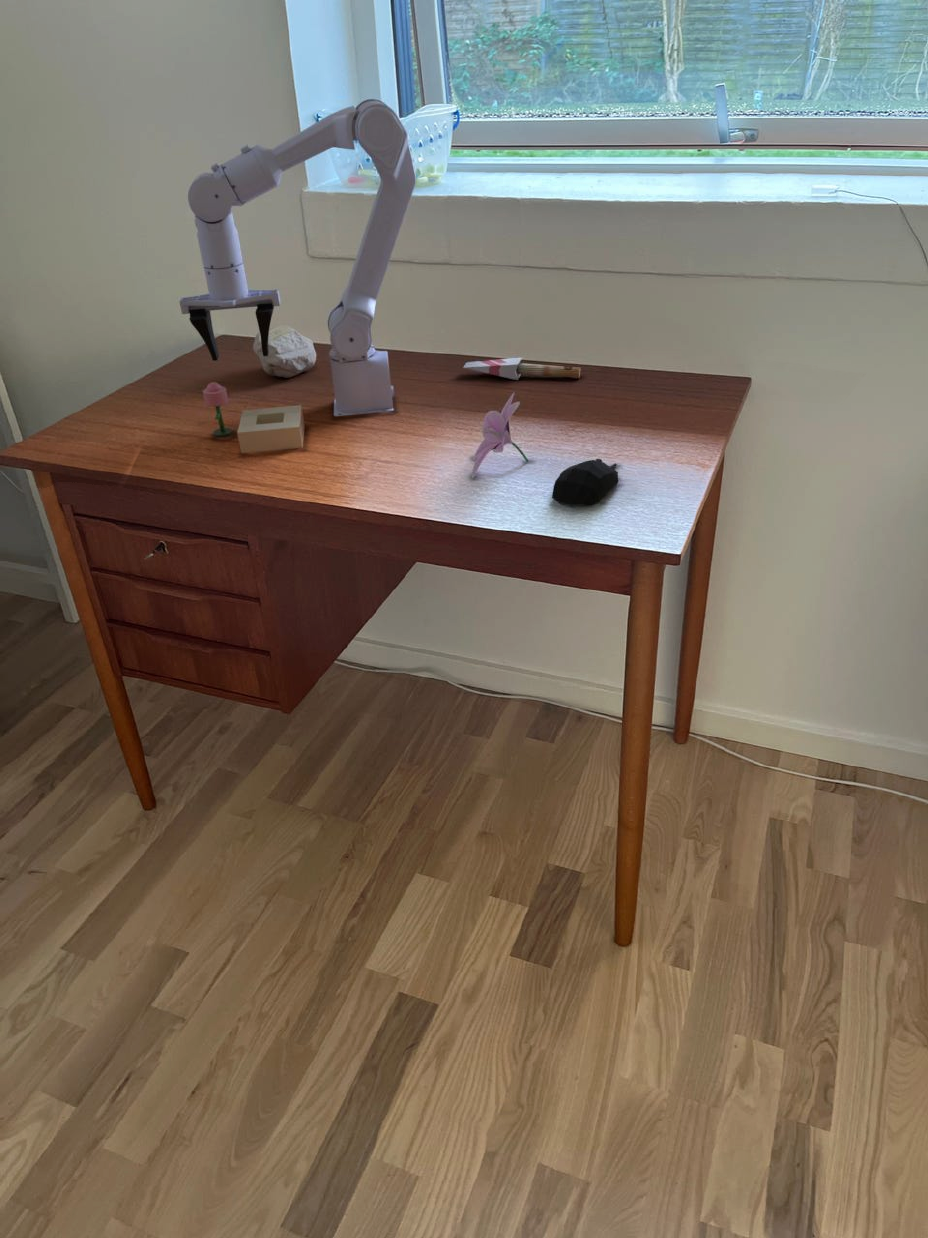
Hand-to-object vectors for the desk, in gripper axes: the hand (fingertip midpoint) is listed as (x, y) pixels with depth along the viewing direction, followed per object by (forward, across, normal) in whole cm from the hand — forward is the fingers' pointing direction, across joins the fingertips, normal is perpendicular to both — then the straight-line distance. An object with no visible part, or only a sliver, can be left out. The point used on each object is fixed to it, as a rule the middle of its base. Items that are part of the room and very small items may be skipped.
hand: (241, 356), depth 142 cm
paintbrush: (+11, +45, +9) cm, 47 cm away
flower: (+10, -4, -6) cm, 13 cm away
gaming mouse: (+11, +47, -36) cm, 60 cm away
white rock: (+11, +5, +22) cm, 25 cm away
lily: (+11, +36, -26) cm, 46 cm away
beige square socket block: (+10, +4, -10) cm, 15 cm away
